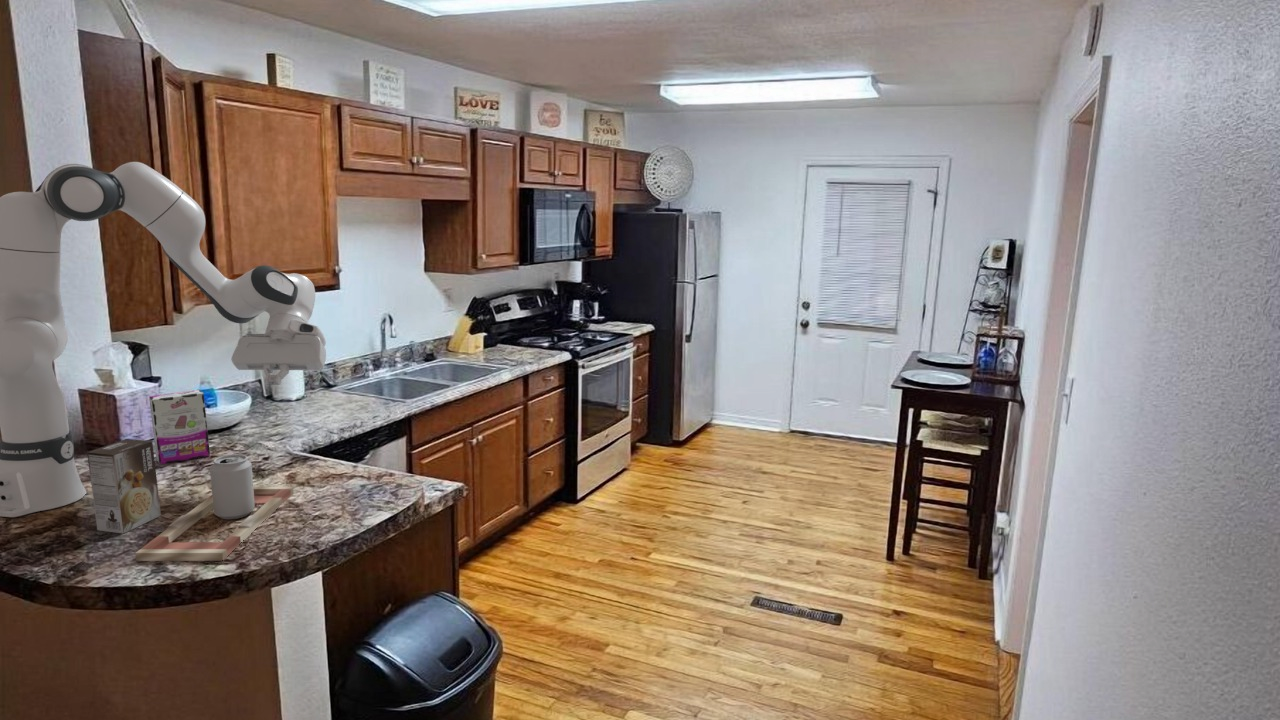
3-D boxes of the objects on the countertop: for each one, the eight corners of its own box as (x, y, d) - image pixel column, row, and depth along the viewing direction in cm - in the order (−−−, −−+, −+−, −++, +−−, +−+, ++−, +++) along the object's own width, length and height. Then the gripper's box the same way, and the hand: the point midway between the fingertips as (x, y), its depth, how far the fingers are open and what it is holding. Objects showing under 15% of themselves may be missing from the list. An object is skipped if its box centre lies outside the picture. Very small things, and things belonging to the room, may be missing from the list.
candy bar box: (205, 451, 196) (200, 388, 192) (210, 456, 192) (205, 392, 189) (154, 459, 188) (148, 395, 185) (158, 465, 185) (152, 399, 181)
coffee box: (135, 513, 157) (127, 437, 153) (162, 516, 155) (154, 440, 152) (95, 531, 148) (85, 451, 145) (123, 534, 147) (114, 454, 143)
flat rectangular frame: (136, 560, 136) (134, 550, 136) (223, 492, 168) (222, 484, 168) (223, 560, 137) (222, 550, 137) (293, 493, 169) (293, 484, 169)
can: (219, 508, 160) (214, 453, 158) (258, 505, 162) (254, 451, 160) (209, 522, 153) (204, 465, 151) (250, 519, 155) (246, 462, 153)
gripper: (235, 326, 179) (219, 376, 172) (325, 327, 181) (313, 376, 173) (245, 341, 185) (230, 390, 177) (332, 342, 186) (321, 391, 178)
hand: (272, 383), depth 175 cm, fingers closed
